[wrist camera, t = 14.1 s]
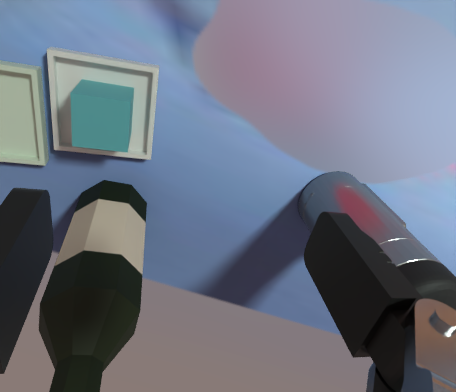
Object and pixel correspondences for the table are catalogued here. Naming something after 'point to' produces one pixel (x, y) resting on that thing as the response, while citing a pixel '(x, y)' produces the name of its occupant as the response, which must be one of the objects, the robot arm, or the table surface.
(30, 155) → the green tray
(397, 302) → the robot arm
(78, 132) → the teal block
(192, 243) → the table surface
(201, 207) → the table surface
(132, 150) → the grey tray
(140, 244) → the wine bottle
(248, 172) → the table surface
